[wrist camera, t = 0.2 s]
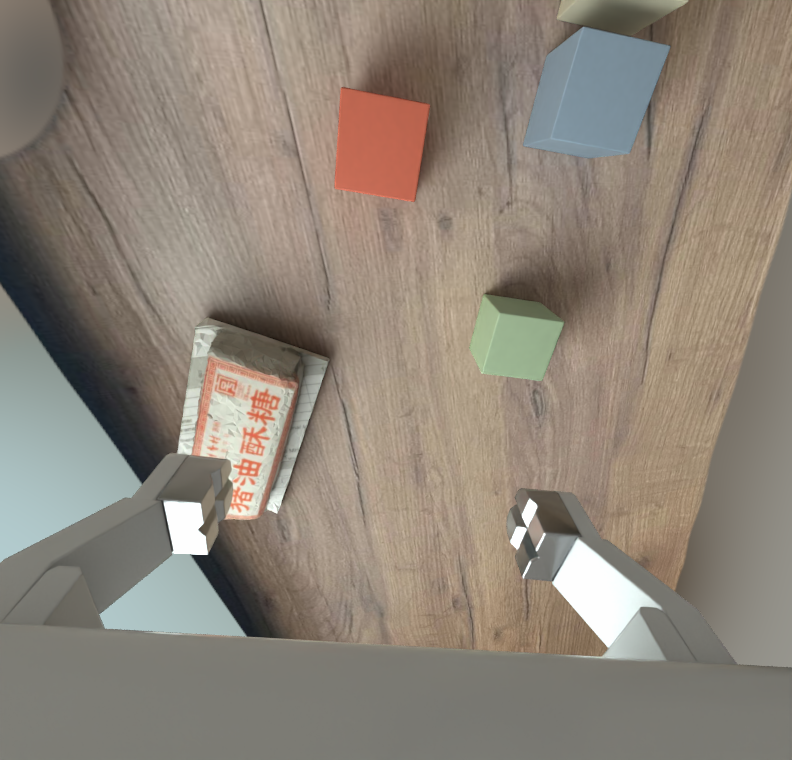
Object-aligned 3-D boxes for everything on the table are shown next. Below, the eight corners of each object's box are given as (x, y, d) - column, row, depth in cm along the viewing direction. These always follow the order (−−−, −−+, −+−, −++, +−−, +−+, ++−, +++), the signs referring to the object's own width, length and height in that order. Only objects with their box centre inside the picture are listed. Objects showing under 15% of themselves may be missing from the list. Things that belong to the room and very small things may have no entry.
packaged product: (171, 335, 24) (322, 382, 26) (204, 311, 28) (331, 354, 30) (150, 521, 31) (267, 546, 33) (178, 480, 36) (280, 505, 38)
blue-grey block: (546, 54, 21) (583, 25, 17) (619, 70, 22) (671, 45, 18) (522, 146, 23) (550, 138, 19) (589, 158, 24) (630, 153, 20)
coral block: (348, 103, 22) (340, 86, 18) (422, 117, 22) (430, 103, 18) (342, 187, 24) (334, 188, 20) (410, 198, 25) (414, 202, 21)
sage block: (483, 293, 28) (499, 312, 24) (540, 302, 28) (565, 321, 24) (468, 348, 30) (481, 373, 26) (522, 355, 30) (542, 381, 26)
